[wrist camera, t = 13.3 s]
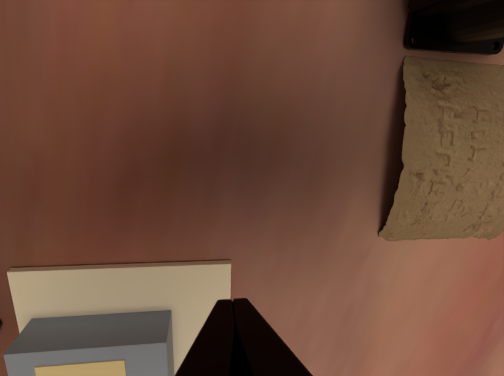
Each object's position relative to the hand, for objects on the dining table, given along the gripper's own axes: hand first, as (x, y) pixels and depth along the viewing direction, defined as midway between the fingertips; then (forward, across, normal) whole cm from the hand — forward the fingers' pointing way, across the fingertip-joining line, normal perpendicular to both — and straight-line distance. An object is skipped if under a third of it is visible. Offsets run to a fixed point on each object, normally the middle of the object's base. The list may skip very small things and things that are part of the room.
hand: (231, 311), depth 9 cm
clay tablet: (+13, -16, -2) cm, 21 cm away
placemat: (+12, +7, +12) cm, 18 cm away
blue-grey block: (+10, +4, +12) cm, 16 cm away
